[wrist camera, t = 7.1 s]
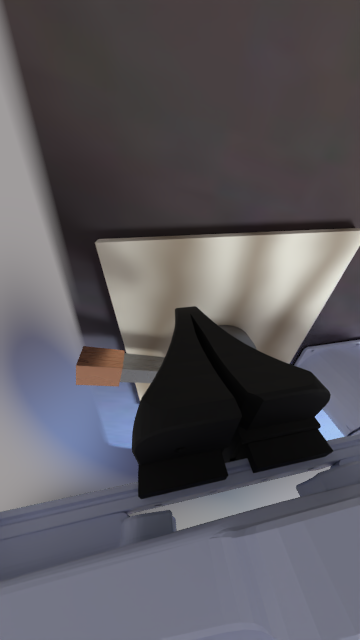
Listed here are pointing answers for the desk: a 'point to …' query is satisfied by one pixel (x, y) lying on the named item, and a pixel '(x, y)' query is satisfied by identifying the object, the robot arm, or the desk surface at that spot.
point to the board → (225, 285)
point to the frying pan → (115, 367)
